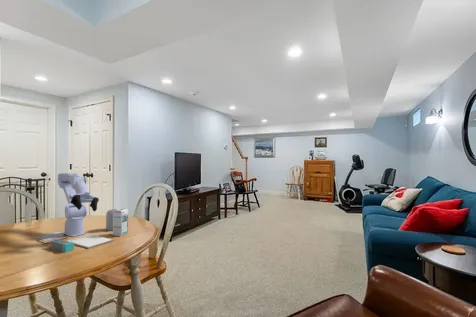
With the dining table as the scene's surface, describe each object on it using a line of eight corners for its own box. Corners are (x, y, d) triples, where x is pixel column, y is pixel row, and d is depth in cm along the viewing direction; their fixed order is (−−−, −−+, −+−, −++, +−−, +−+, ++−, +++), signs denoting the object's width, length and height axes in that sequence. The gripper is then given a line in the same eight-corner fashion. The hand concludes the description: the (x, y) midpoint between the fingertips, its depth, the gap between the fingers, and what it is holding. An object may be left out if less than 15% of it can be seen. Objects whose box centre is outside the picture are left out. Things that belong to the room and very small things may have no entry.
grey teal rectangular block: (50, 247, 119) (50, 240, 119) (58, 245, 123) (58, 238, 123) (65, 252, 114) (66, 244, 114) (73, 250, 117) (74, 242, 117)
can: (122, 228, 155) (122, 209, 155) (112, 231, 148) (113, 211, 148) (112, 227, 157) (113, 208, 158) (103, 230, 150) (103, 210, 151)
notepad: (64, 242, 127) (64, 240, 127) (91, 235, 140) (91, 234, 140) (87, 248, 119) (88, 247, 119) (113, 240, 132) (113, 239, 132)
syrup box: (121, 236, 139) (122, 210, 139) (112, 235, 140) (112, 209, 140) (127, 233, 145) (128, 208, 145) (119, 232, 146) (119, 208, 146)
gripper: (71, 183, 128) (77, 201, 120) (99, 189, 140) (105, 205, 132) (64, 194, 129) (69, 212, 121) (92, 198, 140) (98, 215, 132)
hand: (88, 209), depth 126 cm, fingers open, 7 cm apart
